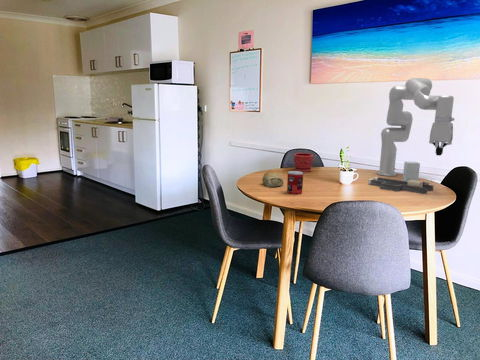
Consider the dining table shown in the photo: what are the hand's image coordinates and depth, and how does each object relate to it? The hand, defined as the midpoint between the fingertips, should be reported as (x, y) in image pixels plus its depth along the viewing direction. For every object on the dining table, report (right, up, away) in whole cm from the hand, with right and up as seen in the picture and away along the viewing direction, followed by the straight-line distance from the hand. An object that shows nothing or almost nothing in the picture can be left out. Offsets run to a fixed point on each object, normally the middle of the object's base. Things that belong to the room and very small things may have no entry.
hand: (438, 155), depth 196 cm
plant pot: (-61, -7, +64) cm, 89 cm away
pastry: (-86, -16, +18) cm, 89 cm away
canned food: (-76, -20, 0) cm, 78 cm away
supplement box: (-1, -15, +31) cm, 34 cm away
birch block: (-8, -19, +11) cm, 23 cm away
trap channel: (-13, -17, +17) cm, 27 cm away
